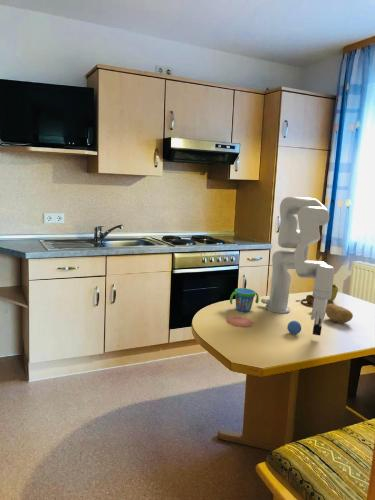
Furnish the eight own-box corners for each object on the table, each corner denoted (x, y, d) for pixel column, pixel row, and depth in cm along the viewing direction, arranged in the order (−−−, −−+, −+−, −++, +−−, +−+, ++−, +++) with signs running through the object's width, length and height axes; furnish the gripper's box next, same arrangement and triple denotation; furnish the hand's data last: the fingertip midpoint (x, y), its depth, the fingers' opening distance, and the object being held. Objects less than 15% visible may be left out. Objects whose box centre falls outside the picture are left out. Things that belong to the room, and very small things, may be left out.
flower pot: (320, 301, 235) (322, 286, 234) (318, 297, 244) (320, 282, 242) (336, 303, 234) (338, 288, 232) (333, 299, 242) (335, 284, 241)
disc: (222, 322, 189) (222, 322, 189) (231, 315, 201) (231, 314, 201) (249, 329, 184) (249, 328, 184) (257, 320, 196) (257, 320, 196)
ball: (285, 334, 181) (287, 321, 180) (288, 330, 186) (289, 317, 185) (299, 337, 179) (300, 324, 178) (301, 333, 184) (303, 320, 183)
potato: (344, 328, 195) (346, 312, 193) (319, 318, 206) (321, 303, 204) (355, 325, 200) (358, 309, 199) (331, 315, 211) (333, 301, 210)
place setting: (331, 307, 228) (333, 297, 227) (315, 314, 214) (316, 303, 212) (303, 299, 240) (304, 289, 239) (285, 305, 225) (286, 295, 224)
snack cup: (253, 306, 217) (255, 287, 215) (261, 313, 207) (263, 294, 205) (225, 306, 214) (227, 287, 212) (232, 313, 204) (234, 293, 202)
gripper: (315, 288, 183) (310, 327, 186) (310, 296, 170) (304, 338, 173) (332, 291, 180) (327, 331, 183) (329, 299, 167) (323, 342, 170)
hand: (316, 334), depth 178 cm, fingers closed
